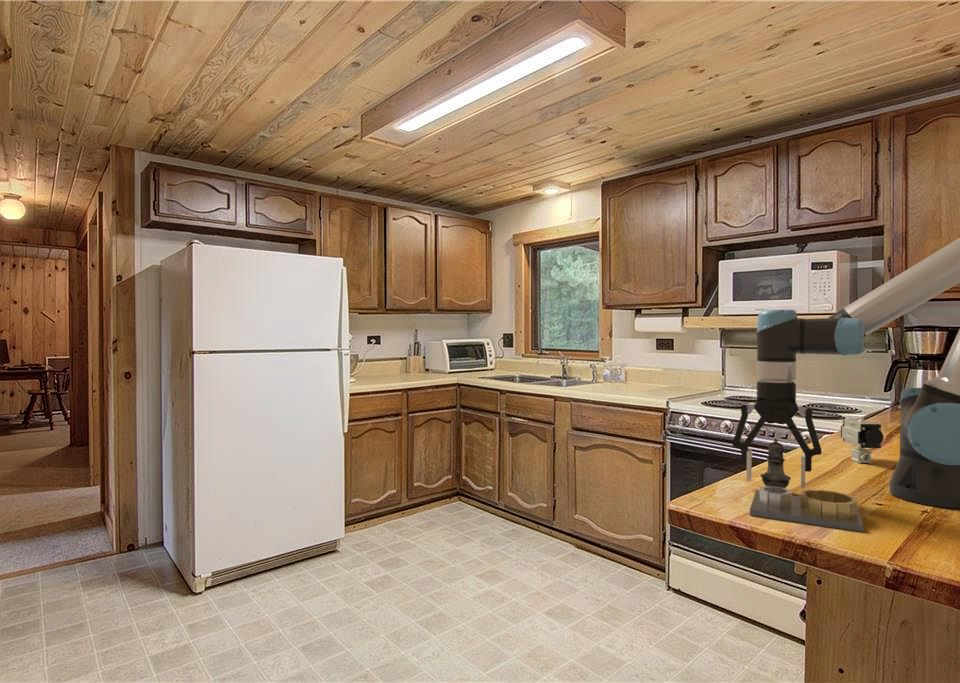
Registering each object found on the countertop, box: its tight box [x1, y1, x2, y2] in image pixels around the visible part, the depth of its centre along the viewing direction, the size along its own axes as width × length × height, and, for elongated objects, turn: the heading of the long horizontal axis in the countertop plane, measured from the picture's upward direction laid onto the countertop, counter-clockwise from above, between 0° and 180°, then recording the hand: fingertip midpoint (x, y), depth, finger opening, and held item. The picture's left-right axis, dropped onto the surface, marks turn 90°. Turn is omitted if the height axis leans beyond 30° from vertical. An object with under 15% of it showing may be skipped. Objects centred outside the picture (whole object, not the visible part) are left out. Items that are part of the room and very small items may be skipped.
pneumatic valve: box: [840, 416, 885, 464], centre depth 149 cm, size 6×12×12 cm, turn 174°
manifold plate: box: [749, 485, 864, 533], centre depth 109 cm, size 18×14×4 cm
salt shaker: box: [760, 437, 792, 489], centre depth 122 cm, size 6×6×12 cm
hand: (775, 482), depth 122 cm, fingers open, 10 cm apart
